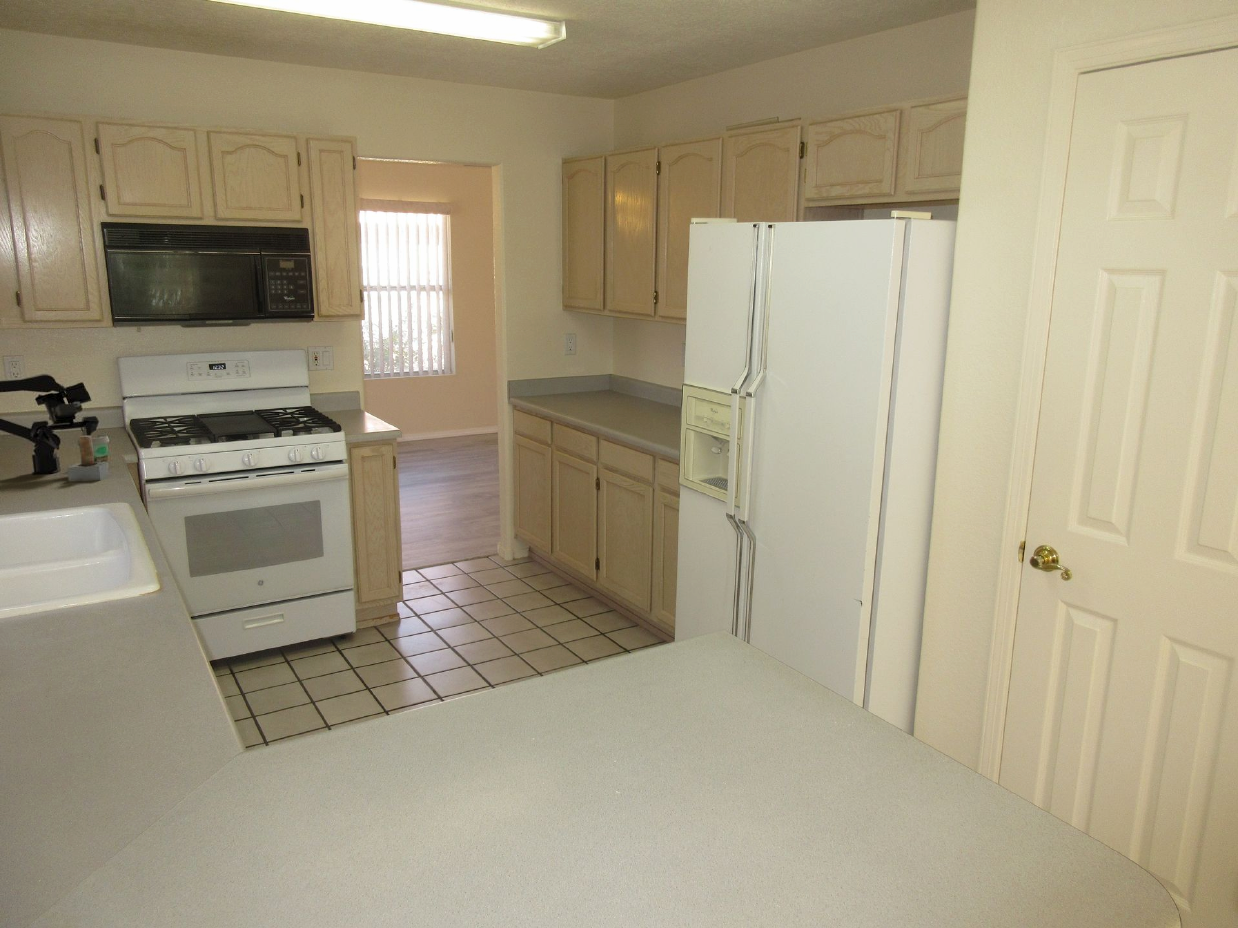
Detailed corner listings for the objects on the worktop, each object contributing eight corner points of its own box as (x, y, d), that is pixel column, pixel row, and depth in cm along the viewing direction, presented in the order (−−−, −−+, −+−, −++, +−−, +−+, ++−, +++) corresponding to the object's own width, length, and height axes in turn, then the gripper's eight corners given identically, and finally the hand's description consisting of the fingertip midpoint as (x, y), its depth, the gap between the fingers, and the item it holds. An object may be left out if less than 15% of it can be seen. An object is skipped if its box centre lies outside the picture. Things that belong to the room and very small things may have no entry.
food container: (98, 468, 296) (95, 439, 294) (80, 468, 296) (77, 439, 294) (119, 462, 308) (116, 434, 306) (102, 462, 308) (99, 434, 306)
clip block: (68, 481, 274) (67, 467, 273) (79, 476, 283) (77, 462, 282) (100, 480, 276) (98, 466, 275) (109, 474, 285) (108, 461, 284)
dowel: (81, 476, 277) (76, 437, 275) (85, 474, 281) (81, 435, 278) (93, 475, 278) (89, 437, 276) (97, 473, 281) (93, 435, 279)
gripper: (29, 396, 275) (46, 435, 271) (93, 391, 290) (111, 428, 285) (23, 418, 282) (39, 456, 277) (86, 412, 296) (103, 449, 292)
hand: (74, 447), depth 283 cm, fingers open, 9 cm apart
